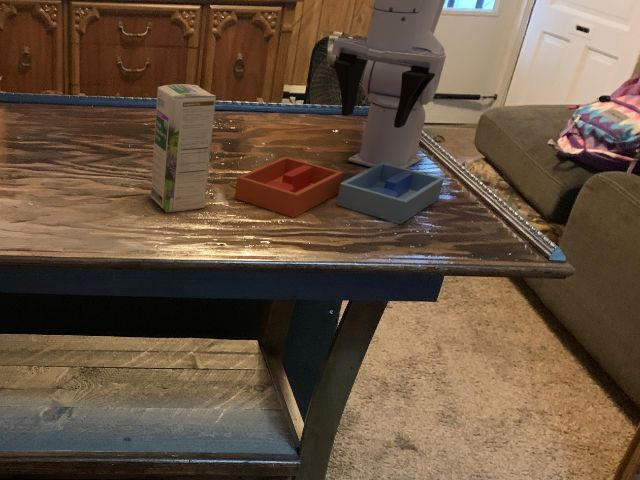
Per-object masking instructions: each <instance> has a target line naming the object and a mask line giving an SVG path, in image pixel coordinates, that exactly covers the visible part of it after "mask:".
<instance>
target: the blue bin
mask: <svg viewBox="0 0 640 480" xmlns="http://www.w3.org/2000/svg"><path fill="white" fill-rule="evenodd" d="M402 171H407V172H411V173H413V175H412V179H411V183H410V187H409V191H408V192H406V193H404V194H403V195H401V196H399V197H398V198H396V197H392V196H389V195H385V194H382V193H378V192H375V191H371V190H369V189H371V188H376V187H380V188H384V186H385V182H386V180H388V179H390V178H391V177H393V176H395V175H397V174H398V173H400V172H402ZM444 181H445V178H443V177H440V176H436V175H433V174H429V173H424V172H421V171H417V170H413V169H410V168H402V167H398V166H394V165H391V164H387V163H383V162H381V163H379V164H377V165H375V166H373V167H369V168H367V169H365V170H364V171H362V172H359V173H358V174H356V175H354V176H352V177H350V178H348V179H346V180H344V181H341V184H340V189H339V193H338V194H337V198H336V206H339V207H342V208H346V209H348V210H352V211H355V212H358V213H362V214H366V215H369V216H372V217H375V218H378V219H381V220H385V221H388V222H392V223H395V224H398V225H402V224H404V223H405V222H406V221H408V220H410V219H411V218H412V217H414V216H416V215H417V214H419V213H420V212H421V211H423V210H425V209H426V208H428V207H429V206H431V205H432V204H434V203H436V202H437V201H438V200H440V199H439V198H440V196H441V192H442V189H443V184H444Z"/></svg>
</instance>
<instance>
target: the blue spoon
mask: <svg viewBox="0 0 640 480" xmlns="http://www.w3.org/2000/svg"><path fill="white" fill-rule="evenodd" d="M412 175H413V173H411V172H407V171H402V172H400V173H398V174H397V175H395V176H393V177H391V178H390V179H388V180H386V182H385V186H384V188H380V187H376V188H371V189H369V190H371V191H375V192H378V193H382V194H385V195H389V196H392V197H396V198H398V197H399V196H401V195H403V194H404V193H406V192H408V191H409V187H410V183H411V179H412Z"/></svg>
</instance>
